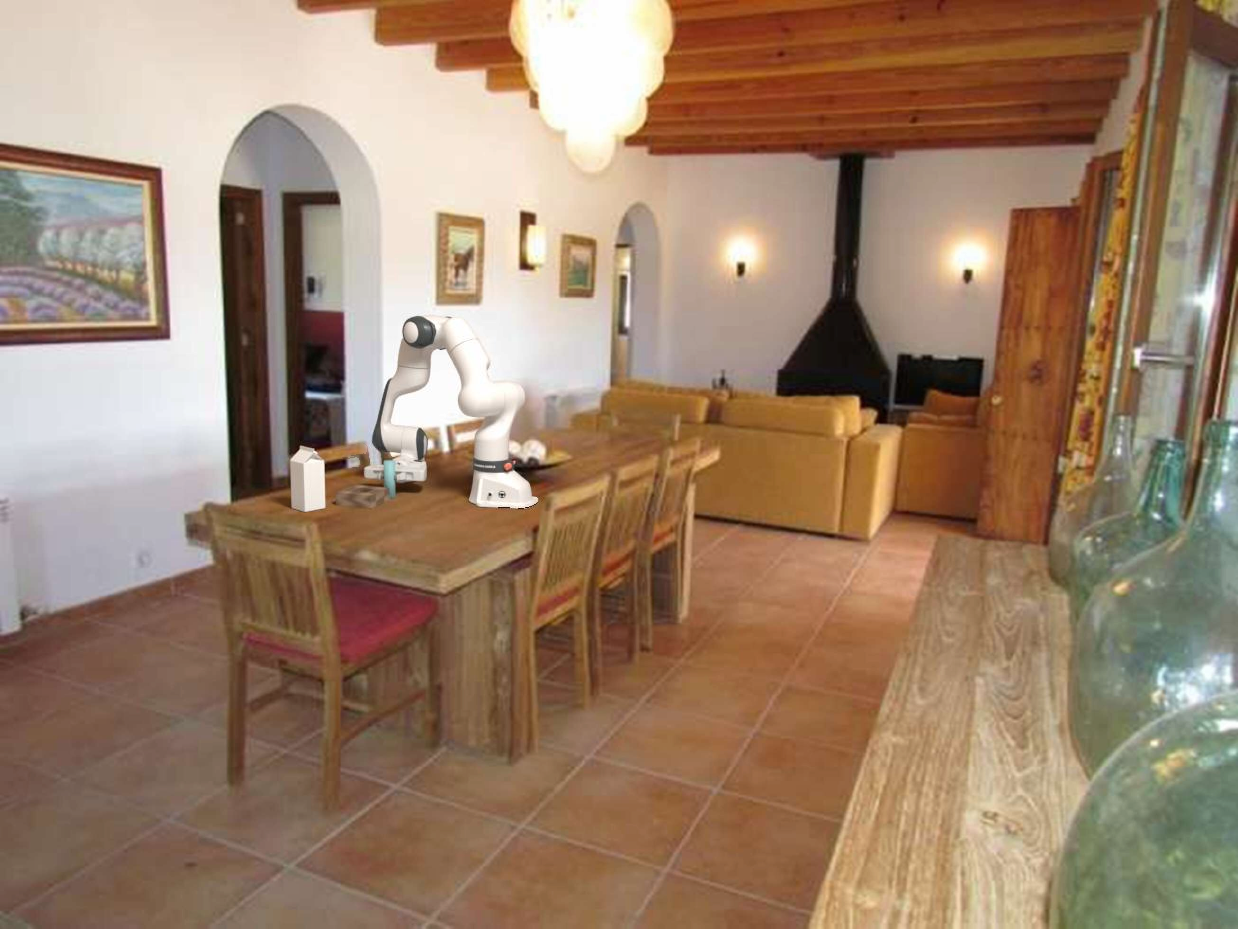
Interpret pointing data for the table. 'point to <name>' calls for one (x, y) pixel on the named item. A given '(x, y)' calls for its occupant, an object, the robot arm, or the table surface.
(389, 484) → the peg
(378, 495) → the socket block
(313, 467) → the milk carton
